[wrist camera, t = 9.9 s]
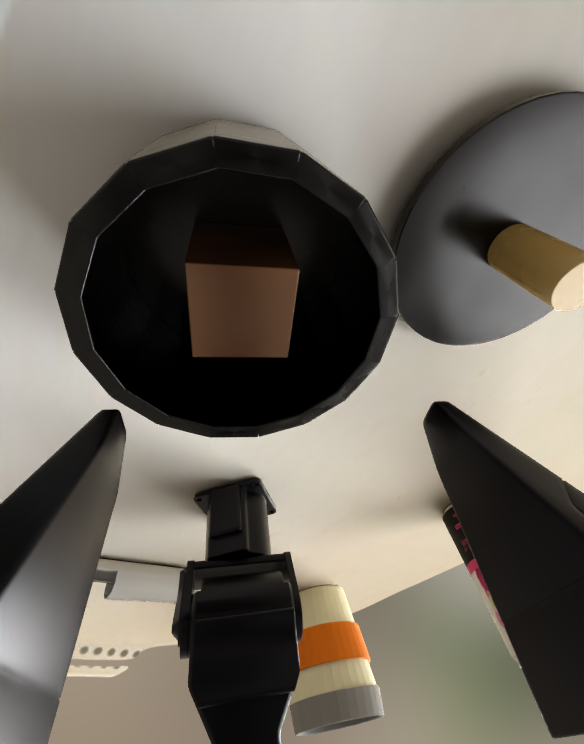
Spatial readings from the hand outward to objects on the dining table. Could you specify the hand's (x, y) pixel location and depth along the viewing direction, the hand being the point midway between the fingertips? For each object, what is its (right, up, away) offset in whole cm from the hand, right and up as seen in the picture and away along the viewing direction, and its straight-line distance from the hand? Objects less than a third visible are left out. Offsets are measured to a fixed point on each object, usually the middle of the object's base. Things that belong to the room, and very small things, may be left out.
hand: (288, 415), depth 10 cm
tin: (-3, +7, +9) cm, 12 cm away
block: (-3, +7, +8) cm, 11 cm away
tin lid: (+12, +9, +10) cm, 18 cm away
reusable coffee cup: (+4, -36, +46) cm, 59 cm away
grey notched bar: (-17, -22, +31) cm, 41 cm away
